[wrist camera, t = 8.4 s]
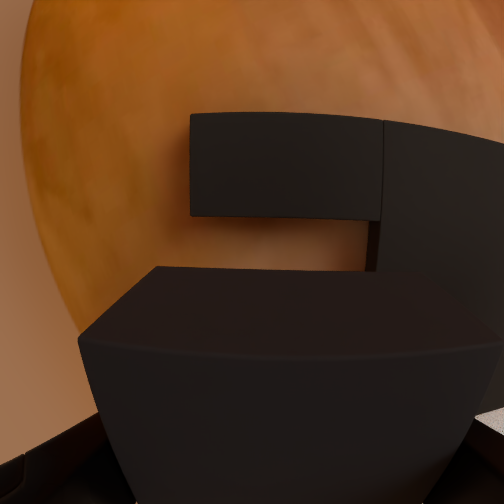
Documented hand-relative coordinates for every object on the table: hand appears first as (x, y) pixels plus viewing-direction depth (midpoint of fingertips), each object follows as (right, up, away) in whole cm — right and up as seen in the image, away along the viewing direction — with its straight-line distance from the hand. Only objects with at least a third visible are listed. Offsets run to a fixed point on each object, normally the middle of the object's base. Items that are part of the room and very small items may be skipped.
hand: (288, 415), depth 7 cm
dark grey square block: (0, 0, +1) cm, 1 cm away
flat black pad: (+7, +2, +7) cm, 10 cm away
